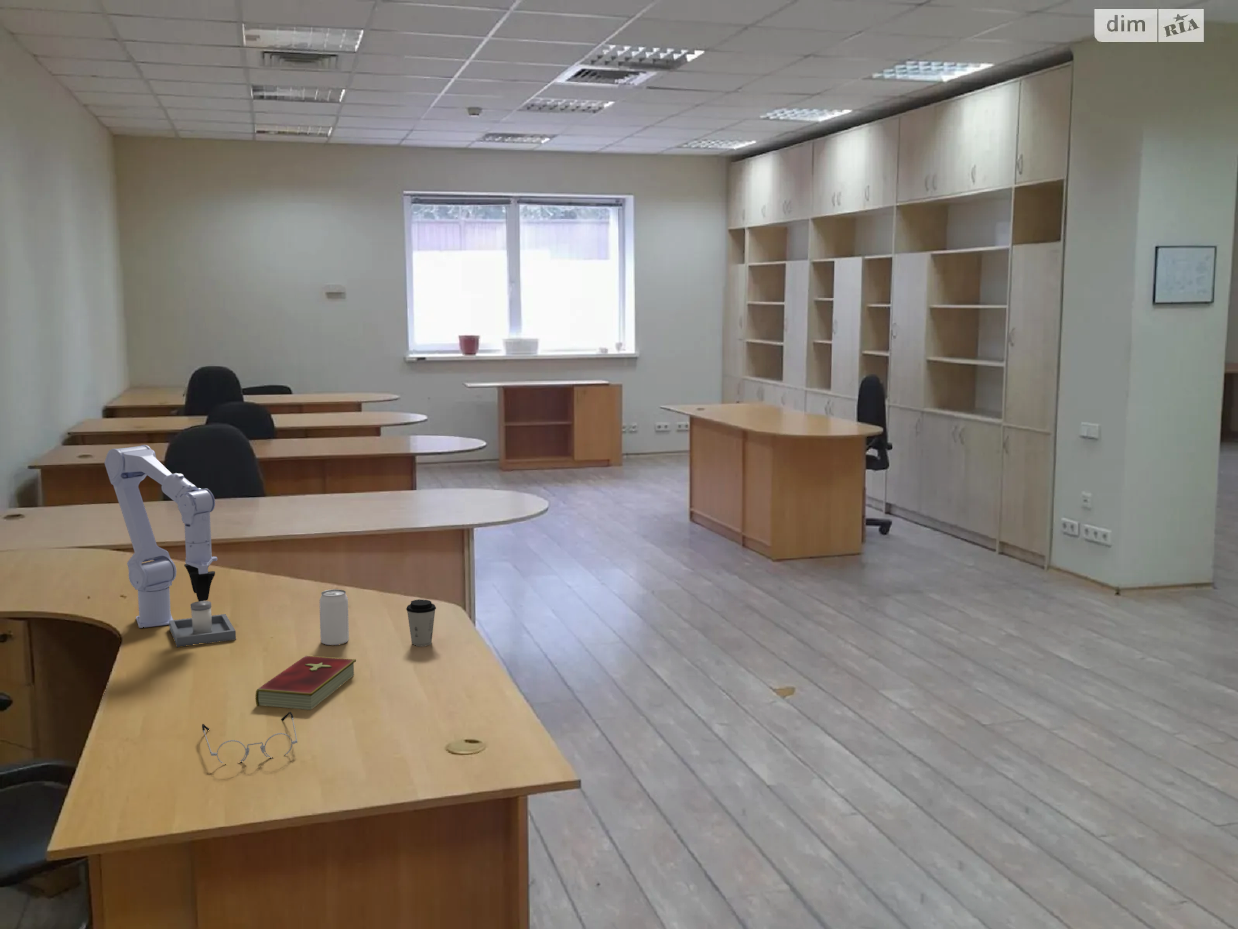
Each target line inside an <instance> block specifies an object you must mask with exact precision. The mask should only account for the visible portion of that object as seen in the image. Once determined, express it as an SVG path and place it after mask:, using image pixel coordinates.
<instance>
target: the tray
mask: <svg viewBox="0 0 1238 929" xmlns="http://www.w3.org/2000/svg"><path fill="white" fill-rule="evenodd" d="M211 617H212V632H211V633H203V634H193V630H192V617H188V618H181V619H180V618H179V619H173V620H171V621H169V625H168V626H169V632H170V634H171V633H172V634H171V637H172V638H174V639H173V641H174V640H175V641H174V643H176V644H175V646H176V648H181V647H180V646H183V647H187V646H186V645H191V646H194V645H193V644H199V643H206V644H212V642H214V643H218V642H219V641H220V642H219V643H221V641H222V642H229V641H236V639H237V634H236V629H235V627H234V626H233V625H232V622H231V621H230V619H229V617H228V616H227V614H226V613H223V614H222V613H221V614H214V615H211ZM199 645H200V644H199Z"/></svg>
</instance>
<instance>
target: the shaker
mask: <svg viewBox="0 0 1238 929" xmlns="http://www.w3.org/2000/svg"><path fill="white" fill-rule="evenodd" d="M190 611H191V618H192V630H193V634H203V633H211V632H212V617H211V616H212V602H211V601H209V600H206V601H198V600H197V601H195V602H191V603H190Z"/></svg>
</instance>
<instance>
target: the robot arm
mask: <svg viewBox="0 0 1238 929" xmlns="http://www.w3.org/2000/svg"><path fill="white" fill-rule="evenodd" d="M104 466H105V469H106V473H107V475H108V479H109V482H110V485H113V489H114V491H115V495H116V499H117V502H118V504H119V508H120V511H121V514H122V517H123V520H124V523H125V526H126V530H127V533H128V536H129V538H130V541H131V544H132V548H133V554H132V555H131V557H130V558H129V560H128V561H127V562H126V565H127V568H128V581H129V582H130V584H131V586H132V587H133V588H134V590H136V591H137V601H138V602H137V603H138V615H136V616H135V619H136V623H137V625H138V626H137V627H138V628H139V629H142V628H143V627H144V628H151V627H159V626H167V625H168V626H169V621H171V620H174V618H173V616H172V613H171V595H170V594H171V593H170V587H171V586H172V585H173V582H174V581H175V579H176V577H177V566H176V564H175V563H174V560H173V559H172V558H171V556H170V553H169V551H167V549H164V548H162V547H160V546H158V544H157V540H156V538H155V534H154V532H153V528H152V525H151V522H150V519H149V517H148V512H147V510H146V507H145V504H144V501H143V497H142V495H141V491H140V488H139V485H140V483H141V482H142V481H144V480H145V479H146V477H147V476H148V477H149V478H151V479H152V480H154V481H155V482H157V483H158V484H159V485H161V491H162V493H163V494H164V495H166V496H167V497H168V498H169V499H171V500H172V501H173V502H175V503H176V504H177V508H178V511H179V513H180V515H181V521H182V524H184V525H183V526H184V539H185V540H184V542H185V543H184V544H185V545H184V546H185V559H184V560H185V561H184V562H185V563H184V568H185V569H186V571H187V574H188V575H189V579H190V584H191V588H192V591H193V594H195V595H196V598H197V602H198V601H209V596H210V592H211V585H212V582H213V580H214V577H215V576H216V571H215V570H210V571H209V567H210V565H212V563H214V562H217V561H218V557H217V556H212V554H213V553H212V532H211V531H212V530H211V513H212V512H213V511H214V510H215V506H216V499H215V496H214V494H213V493H212V491H211V490H210V489H209V488H200V487H197V486H196V485H195V484H193V482H191V481H189V479H187V478H186V477H185V476H184V474H183V473H177V472H175V473H172V472H171V471H170V470H169V469H167V468H166V466H165V465H163V464H162V462H160V460H158V458H157V456H156V452H155V450H154V449H152V447H150V446H149V445H147V444H141V445H137V446H130V447H121V448H111V449H109V450H108V451H107V453H106V456H105V460H104Z"/></svg>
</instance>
